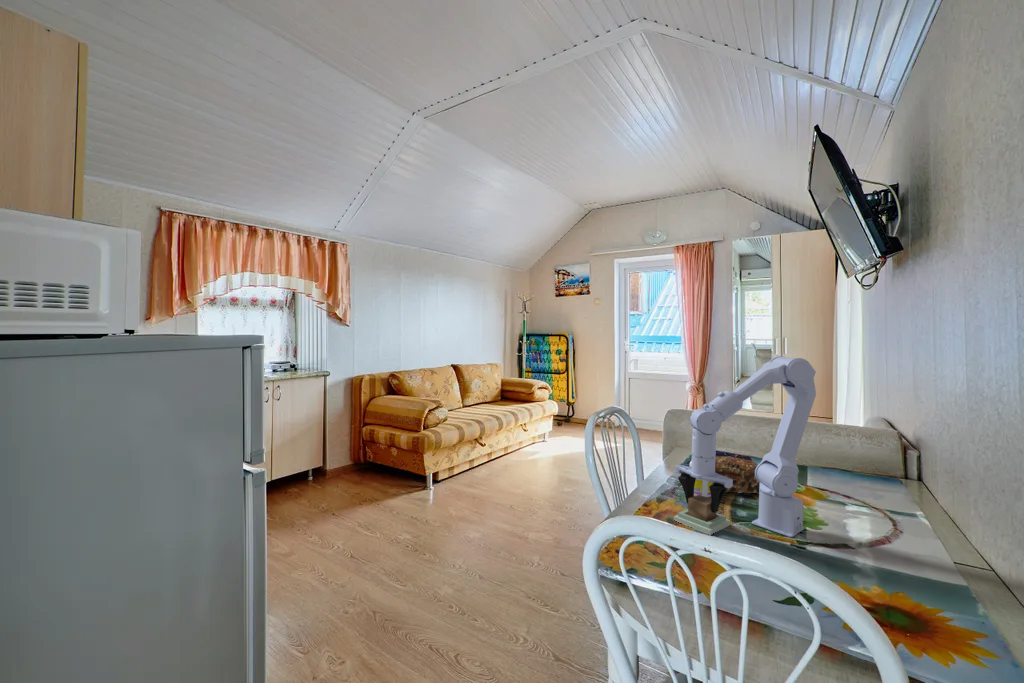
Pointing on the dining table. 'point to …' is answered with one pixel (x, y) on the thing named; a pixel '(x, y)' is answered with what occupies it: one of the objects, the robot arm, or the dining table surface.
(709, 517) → the cube
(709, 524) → the plate
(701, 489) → the supplement bottle
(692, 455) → the robot arm
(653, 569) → the dining table surface
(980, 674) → the dining table surface
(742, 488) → the bread
